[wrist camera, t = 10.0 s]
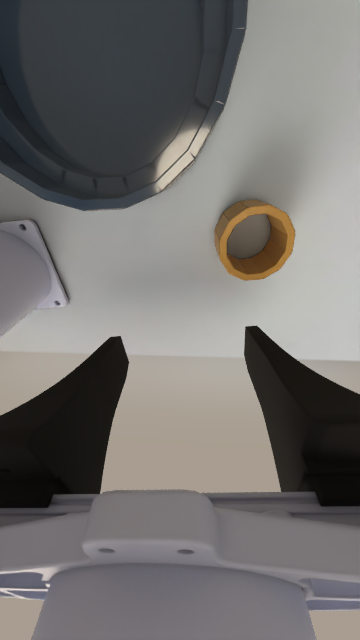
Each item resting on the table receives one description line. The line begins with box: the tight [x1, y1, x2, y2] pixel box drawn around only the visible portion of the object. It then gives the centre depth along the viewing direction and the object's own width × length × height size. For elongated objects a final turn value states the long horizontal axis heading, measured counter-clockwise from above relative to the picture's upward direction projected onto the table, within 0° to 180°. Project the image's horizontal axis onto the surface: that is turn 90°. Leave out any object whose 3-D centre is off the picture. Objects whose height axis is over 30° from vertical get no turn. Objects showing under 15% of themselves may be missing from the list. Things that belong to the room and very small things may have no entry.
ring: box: [215, 200, 295, 281], centre depth 17 cm, size 5×5×4 cm
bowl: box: [0, 0, 248, 211], centre depth 11 cm, size 15×15×5 cm
